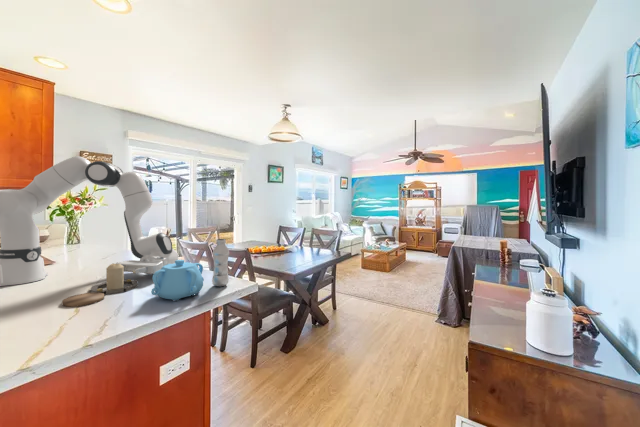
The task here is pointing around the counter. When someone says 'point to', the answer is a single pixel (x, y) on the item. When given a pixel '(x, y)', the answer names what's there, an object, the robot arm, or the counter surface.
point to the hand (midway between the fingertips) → (124, 271)
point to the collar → (100, 289)
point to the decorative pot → (178, 280)
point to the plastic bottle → (220, 263)
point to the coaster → (83, 299)
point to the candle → (115, 276)
